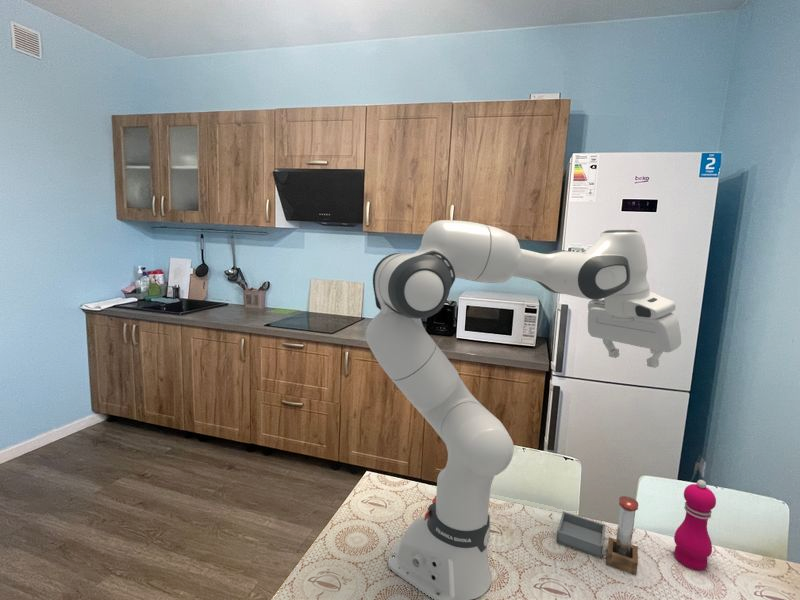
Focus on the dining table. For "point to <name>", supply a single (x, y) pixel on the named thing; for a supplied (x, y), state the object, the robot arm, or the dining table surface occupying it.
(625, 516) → the pin
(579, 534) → the tray
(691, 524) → the pepper mill
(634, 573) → the socket block
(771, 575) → the dining table surface
